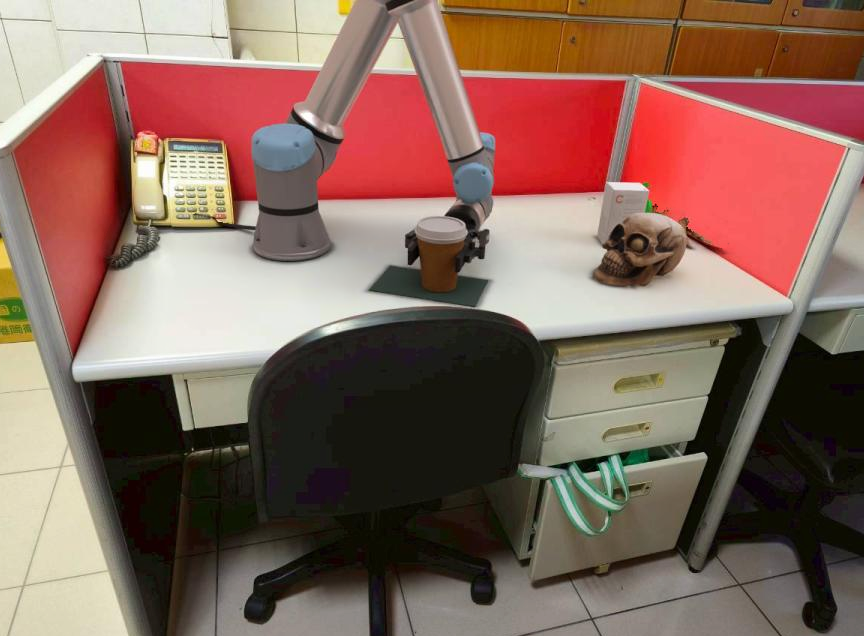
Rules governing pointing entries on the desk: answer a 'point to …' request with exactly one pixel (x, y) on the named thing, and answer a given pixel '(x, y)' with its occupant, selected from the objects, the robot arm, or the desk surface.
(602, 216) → the small box
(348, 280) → the desk surface
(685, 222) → the brown jagged long piece
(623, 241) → the beige brown skull
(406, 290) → the desk mat
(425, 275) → the disposable coffee cup
